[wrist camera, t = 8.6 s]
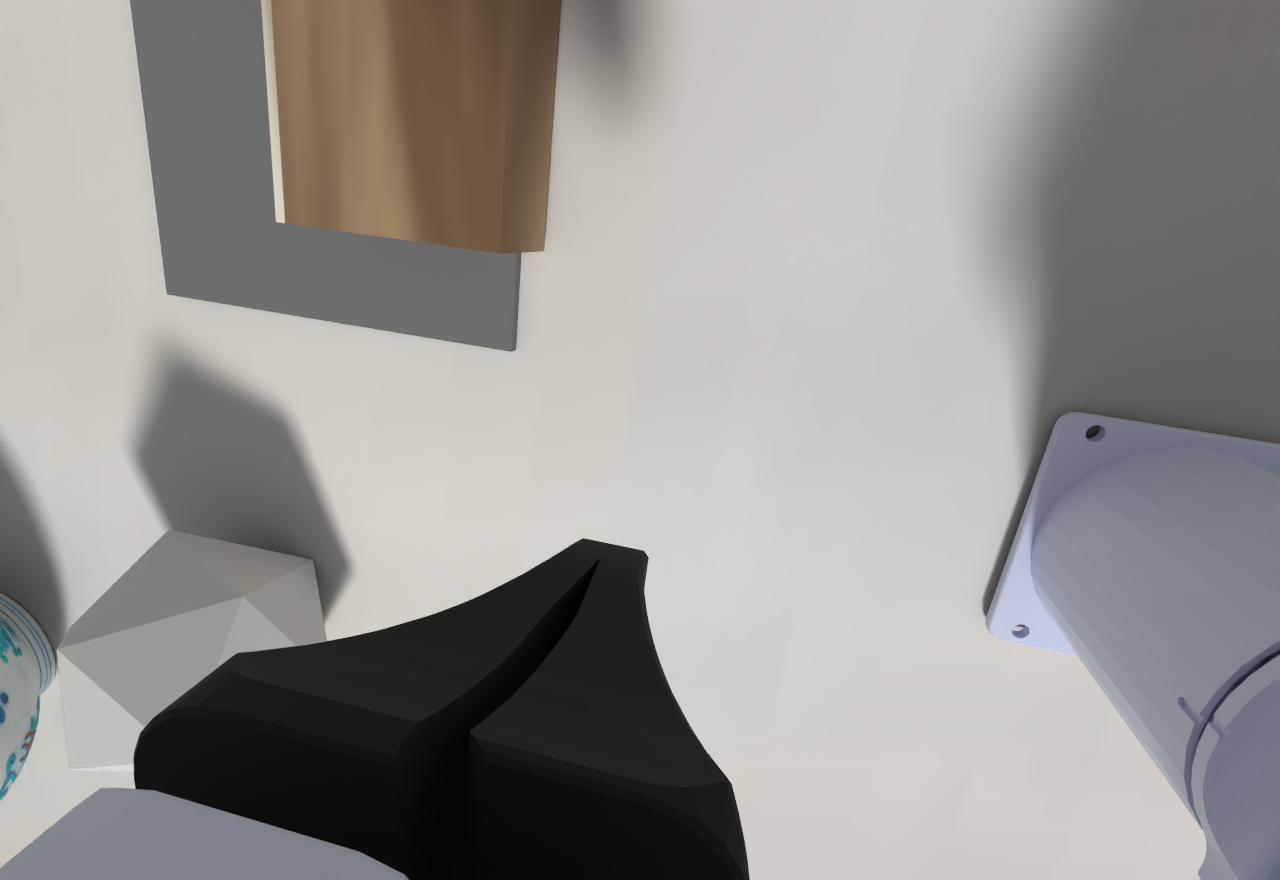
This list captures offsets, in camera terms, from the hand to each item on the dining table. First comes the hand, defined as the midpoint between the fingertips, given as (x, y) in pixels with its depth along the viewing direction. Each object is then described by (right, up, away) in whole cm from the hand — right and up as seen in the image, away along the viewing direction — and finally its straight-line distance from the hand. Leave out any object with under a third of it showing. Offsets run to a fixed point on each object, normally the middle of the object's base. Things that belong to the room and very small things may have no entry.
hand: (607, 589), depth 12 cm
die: (-16, -4, +16) cm, 23 cm away
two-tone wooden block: (-2, +13, +5) cm, 14 cm away
